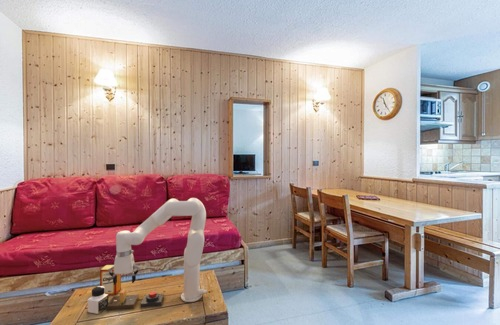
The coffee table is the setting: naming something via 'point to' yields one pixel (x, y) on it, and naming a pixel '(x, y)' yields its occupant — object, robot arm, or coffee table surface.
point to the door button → (152, 294)
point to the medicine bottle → (98, 300)
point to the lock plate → (127, 304)
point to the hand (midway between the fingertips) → (124, 282)
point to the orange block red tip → (123, 296)
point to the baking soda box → (109, 281)
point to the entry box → (152, 300)
